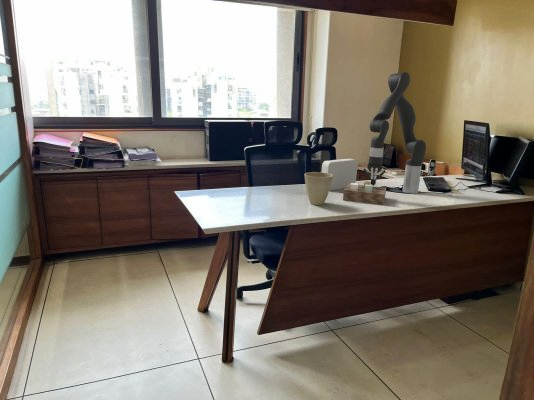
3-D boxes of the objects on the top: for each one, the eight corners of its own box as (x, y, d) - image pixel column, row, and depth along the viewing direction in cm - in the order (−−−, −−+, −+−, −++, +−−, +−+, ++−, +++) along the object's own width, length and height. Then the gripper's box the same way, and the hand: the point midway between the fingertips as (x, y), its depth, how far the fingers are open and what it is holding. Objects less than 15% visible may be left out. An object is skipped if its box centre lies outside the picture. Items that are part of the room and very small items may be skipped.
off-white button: (357, 192, 216) (358, 183, 215) (356, 193, 212) (357, 184, 211) (350, 191, 217) (351, 182, 216) (349, 192, 214) (350, 184, 212)
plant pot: (324, 199, 213) (326, 171, 209) (334, 206, 199) (337, 177, 195) (299, 200, 209) (301, 171, 205) (307, 207, 195) (309, 177, 191)
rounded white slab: (346, 184, 257) (348, 157, 253) (355, 186, 252) (357, 159, 247) (317, 188, 240) (319, 160, 235) (326, 191, 234) (328, 162, 229)
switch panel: (385, 197, 222) (386, 187, 221) (383, 205, 206) (384, 193, 204) (347, 193, 229) (348, 183, 228) (342, 200, 213) (343, 189, 211)
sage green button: (372, 193, 213) (372, 185, 212) (371, 195, 210) (372, 186, 209) (364, 192, 215) (365, 184, 213) (364, 194, 211) (364, 185, 210)
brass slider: (369, 186, 221) (370, 181, 220) (369, 187, 218) (369, 182, 217) (364, 186, 222) (364, 180, 221) (363, 187, 219) (364, 181, 218)
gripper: (388, 155, 215) (384, 185, 220) (364, 154, 220) (361, 183, 224) (387, 157, 209) (384, 187, 213) (363, 155, 213) (360, 185, 217)
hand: (372, 185), depth 218 cm, fingers closed
